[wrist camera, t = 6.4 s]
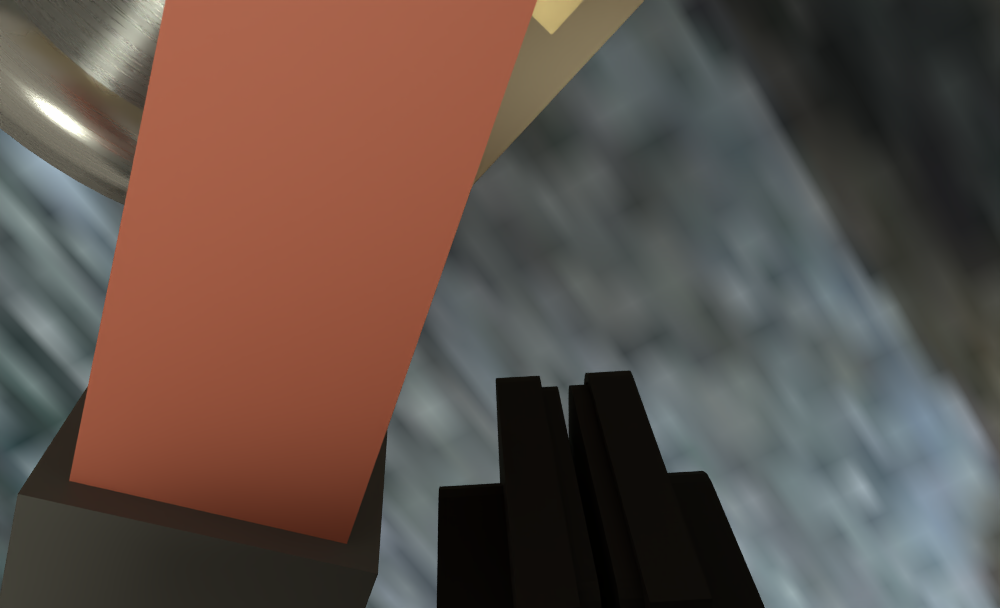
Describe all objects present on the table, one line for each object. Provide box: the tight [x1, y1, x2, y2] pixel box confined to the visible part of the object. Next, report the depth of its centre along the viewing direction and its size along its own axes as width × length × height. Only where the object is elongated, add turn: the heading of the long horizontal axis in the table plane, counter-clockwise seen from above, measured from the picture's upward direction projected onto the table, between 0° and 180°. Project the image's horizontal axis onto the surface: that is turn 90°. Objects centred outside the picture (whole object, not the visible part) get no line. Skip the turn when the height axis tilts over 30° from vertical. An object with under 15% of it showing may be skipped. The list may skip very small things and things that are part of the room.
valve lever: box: [0, 0, 537, 608], centre depth 9 cm, size 16×4×4 cm, turn 161°
